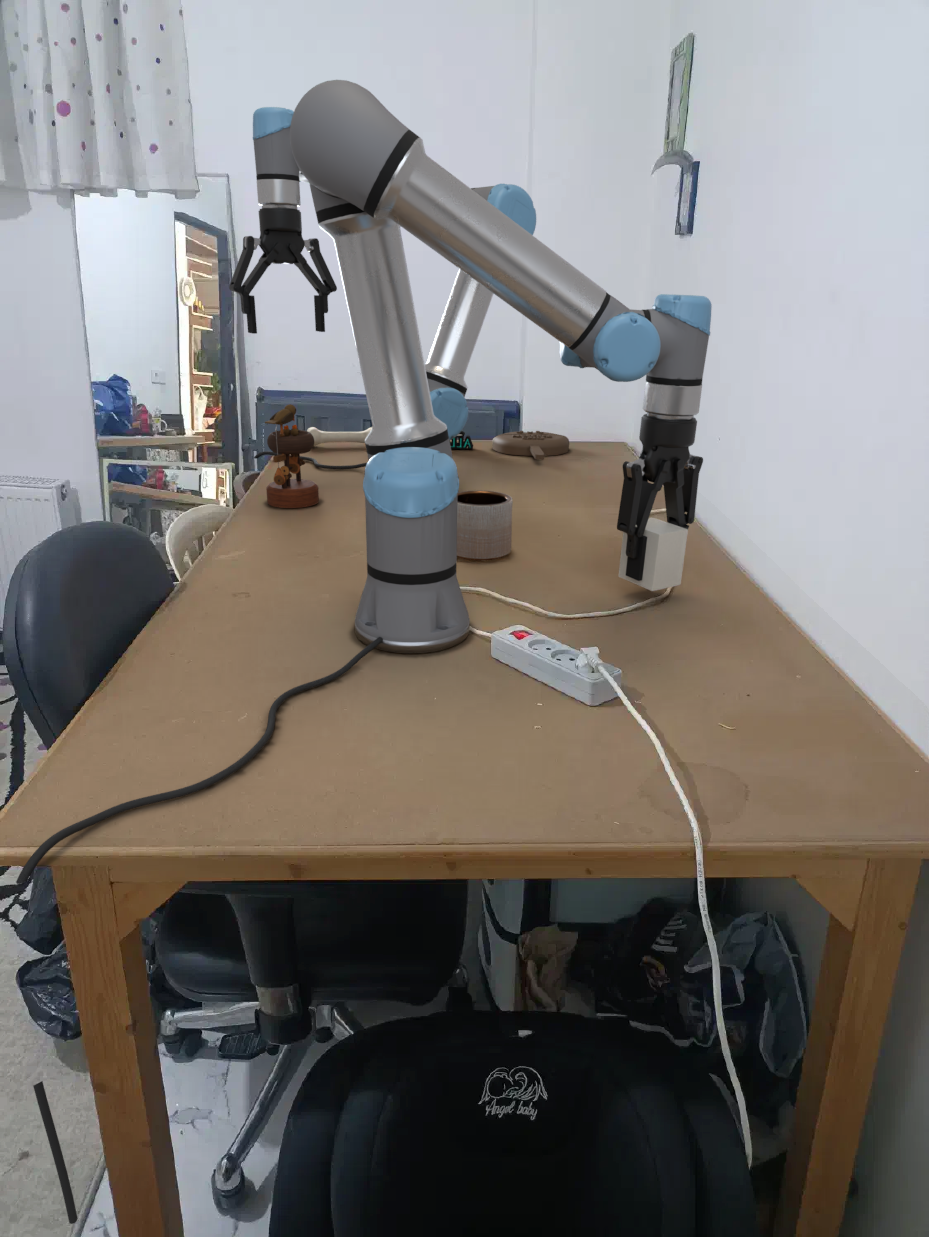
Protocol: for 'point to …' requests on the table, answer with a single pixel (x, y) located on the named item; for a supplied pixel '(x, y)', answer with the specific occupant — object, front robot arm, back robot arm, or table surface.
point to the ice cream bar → (531, 444)
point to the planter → (483, 525)
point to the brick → (659, 555)
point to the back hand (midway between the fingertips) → (287, 332)
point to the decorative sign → (461, 442)
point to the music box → (290, 463)
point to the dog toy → (338, 436)
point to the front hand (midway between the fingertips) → (650, 574)
